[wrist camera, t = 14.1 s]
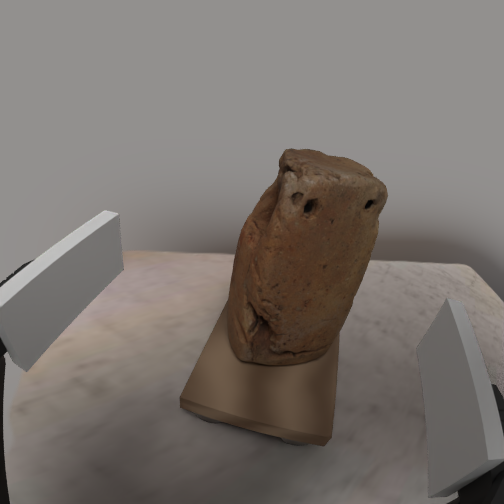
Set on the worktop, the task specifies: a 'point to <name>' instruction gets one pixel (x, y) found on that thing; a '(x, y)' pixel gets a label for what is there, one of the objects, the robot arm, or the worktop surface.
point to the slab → (263, 391)
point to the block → (302, 258)
